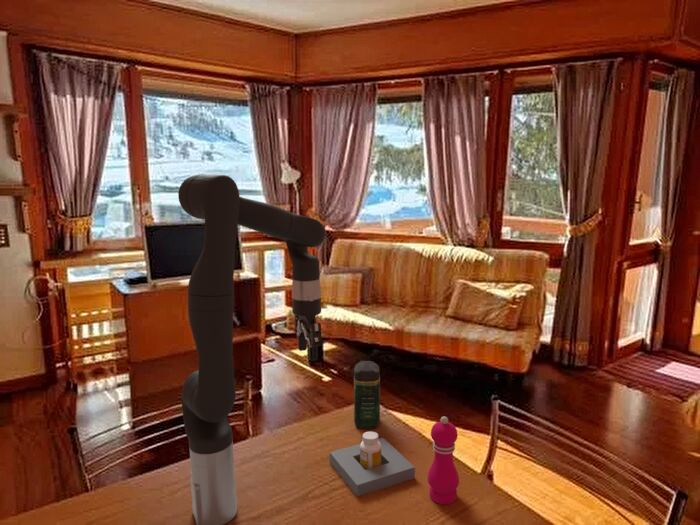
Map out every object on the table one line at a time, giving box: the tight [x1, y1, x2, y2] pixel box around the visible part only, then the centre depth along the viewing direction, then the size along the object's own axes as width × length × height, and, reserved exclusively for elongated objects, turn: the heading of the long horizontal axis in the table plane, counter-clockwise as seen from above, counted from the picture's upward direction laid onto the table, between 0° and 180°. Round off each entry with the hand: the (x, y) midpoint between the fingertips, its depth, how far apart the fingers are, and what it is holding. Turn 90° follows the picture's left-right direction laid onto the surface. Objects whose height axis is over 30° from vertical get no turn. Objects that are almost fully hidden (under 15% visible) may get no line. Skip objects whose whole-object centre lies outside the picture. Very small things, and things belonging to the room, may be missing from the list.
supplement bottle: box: [359, 431, 381, 470], centre depth 129 cm, size 5×5×10 cm
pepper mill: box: [427, 416, 460, 505], centre depth 117 cm, size 7×7×20 cm
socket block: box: [329, 437, 416, 498], centre depth 130 cm, size 16×16×3 cm
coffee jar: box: [353, 360, 381, 430], centre depth 153 cm, size 10×8×19 cm
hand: (308, 355), depth 135 cm, fingers open, 8 cm apart
